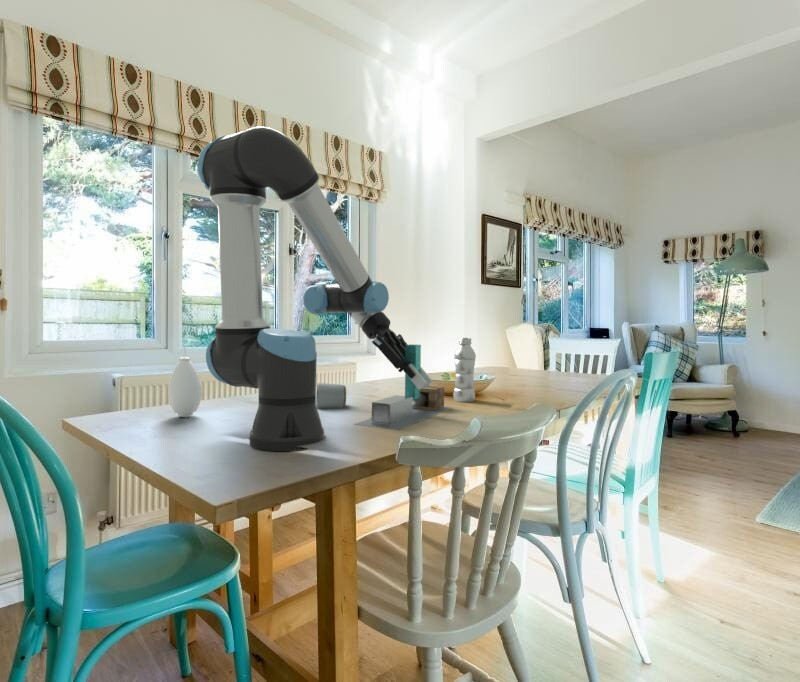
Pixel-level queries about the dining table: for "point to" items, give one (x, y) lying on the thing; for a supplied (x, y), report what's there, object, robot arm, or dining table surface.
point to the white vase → (184, 388)
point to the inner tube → (410, 389)
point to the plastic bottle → (464, 371)
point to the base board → (416, 417)
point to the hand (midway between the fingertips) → (426, 385)
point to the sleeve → (391, 410)
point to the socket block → (432, 398)
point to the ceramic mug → (330, 396)
